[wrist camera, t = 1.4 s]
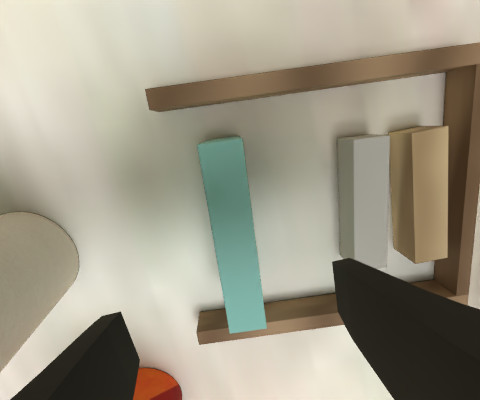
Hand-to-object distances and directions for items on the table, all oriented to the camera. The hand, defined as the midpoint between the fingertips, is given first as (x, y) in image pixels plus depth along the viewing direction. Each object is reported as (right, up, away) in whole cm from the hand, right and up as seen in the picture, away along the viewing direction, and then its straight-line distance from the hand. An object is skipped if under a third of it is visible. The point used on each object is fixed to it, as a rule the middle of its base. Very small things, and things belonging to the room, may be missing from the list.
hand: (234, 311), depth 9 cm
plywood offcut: (+11, +4, +9) cm, 15 cm away
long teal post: (0, +3, +9) cm, 9 cm away
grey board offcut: (+8, +4, +9) cm, 13 cm away
